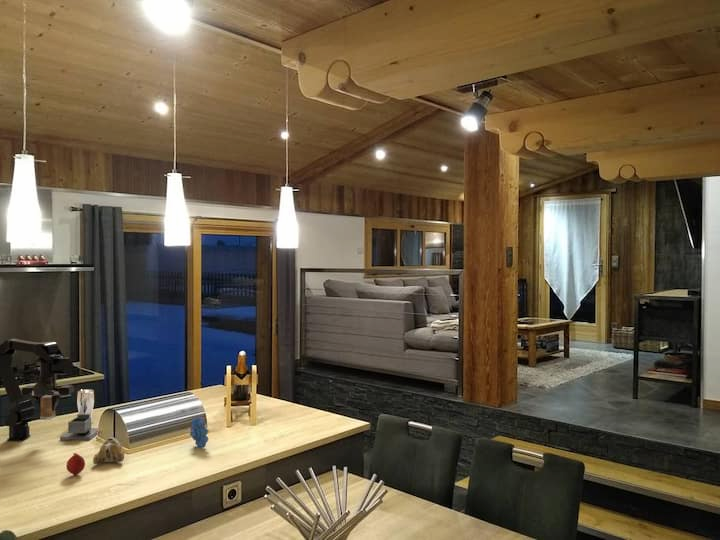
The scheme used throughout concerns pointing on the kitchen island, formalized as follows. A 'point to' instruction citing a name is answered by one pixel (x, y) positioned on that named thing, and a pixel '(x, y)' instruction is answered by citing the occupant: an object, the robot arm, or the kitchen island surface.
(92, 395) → the beer glass
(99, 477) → the kitchen island surface
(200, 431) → the grapes
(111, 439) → the ceramic sculpture
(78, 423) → the bracket
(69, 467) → the onion
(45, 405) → the brown rectangular block
